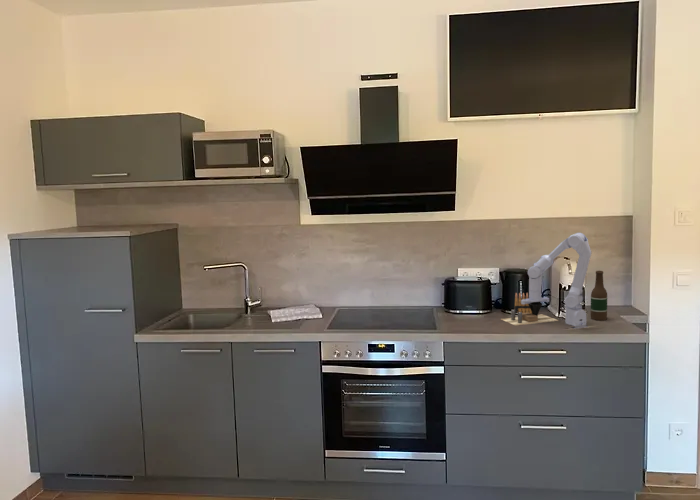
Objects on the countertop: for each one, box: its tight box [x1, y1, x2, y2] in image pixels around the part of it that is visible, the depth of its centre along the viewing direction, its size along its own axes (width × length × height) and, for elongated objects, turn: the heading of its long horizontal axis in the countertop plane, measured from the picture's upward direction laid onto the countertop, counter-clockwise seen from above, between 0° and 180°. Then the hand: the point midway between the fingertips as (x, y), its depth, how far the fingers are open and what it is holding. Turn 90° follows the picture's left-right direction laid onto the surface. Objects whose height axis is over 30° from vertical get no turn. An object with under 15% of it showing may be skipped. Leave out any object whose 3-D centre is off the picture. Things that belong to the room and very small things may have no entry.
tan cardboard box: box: [522, 313, 538, 322], centre depth 289 cm, size 8×5×2 cm, turn 15°
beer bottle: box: [590, 270, 608, 322], centre depth 289 cm, size 8×8×24 cm
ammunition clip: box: [514, 292, 532, 314], centre depth 303 cm, size 11×2×12 cm, turn 78°
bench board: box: [500, 313, 559, 326], centre depth 289 cm, size 14×24×1 cm, turn 106°
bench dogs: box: [510, 308, 522, 323], centre depth 287 cm, size 8×2×6 cm, turn 16°
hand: (535, 317), depth 290 cm, fingers closed
